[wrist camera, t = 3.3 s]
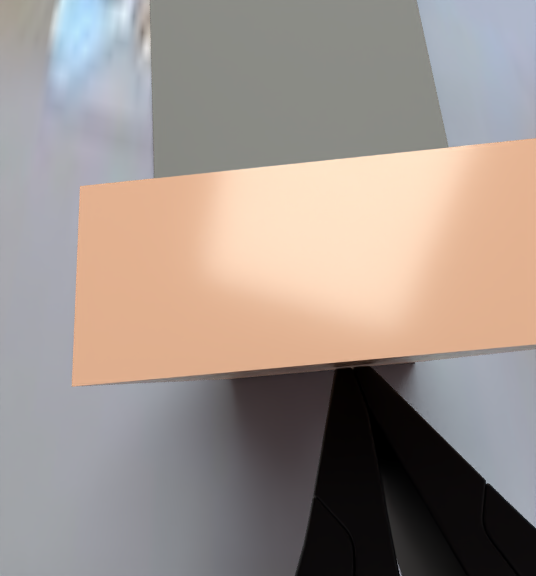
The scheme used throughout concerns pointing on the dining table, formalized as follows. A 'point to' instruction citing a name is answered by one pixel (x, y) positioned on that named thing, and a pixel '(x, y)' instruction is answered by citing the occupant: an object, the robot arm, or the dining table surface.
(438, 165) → the tile
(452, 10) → the dining table surface
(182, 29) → the mat
